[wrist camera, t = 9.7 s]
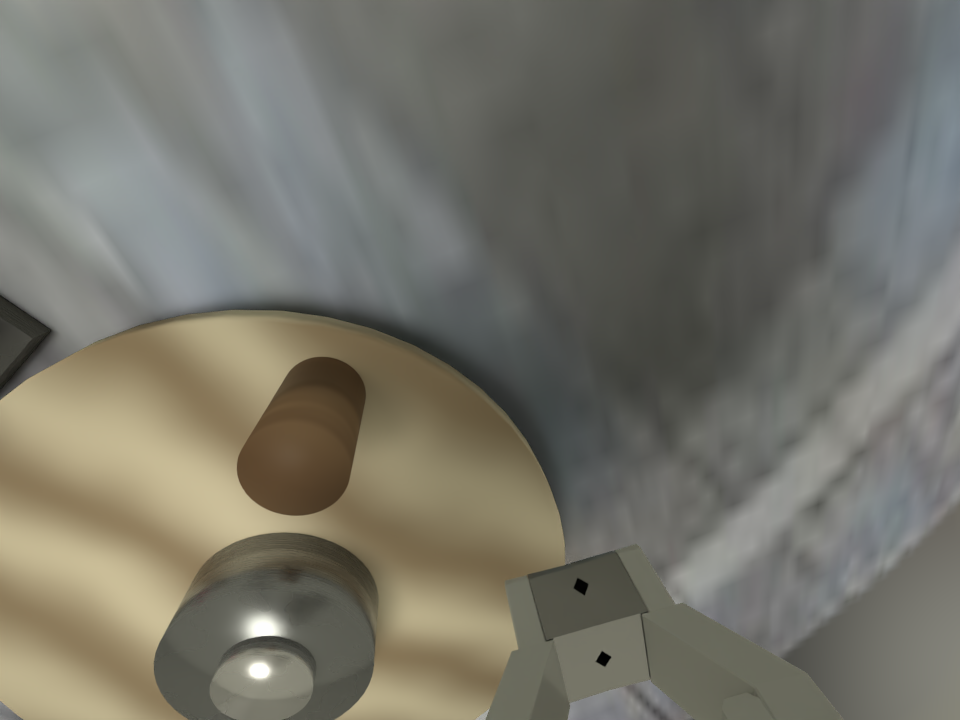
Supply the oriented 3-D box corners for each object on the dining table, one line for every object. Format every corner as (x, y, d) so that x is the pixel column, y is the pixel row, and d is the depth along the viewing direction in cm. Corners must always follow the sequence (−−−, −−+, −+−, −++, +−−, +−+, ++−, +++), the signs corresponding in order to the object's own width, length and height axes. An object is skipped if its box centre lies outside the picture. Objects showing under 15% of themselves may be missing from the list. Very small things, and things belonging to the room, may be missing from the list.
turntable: (124, 156, 16) (-56, 147, 10) (660, 499, 24) (744, 610, 18) (-131, 663, 21) (-344, 857, 15) (374, 798, 30) (364, 958, 24)
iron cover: (247, 502, 19) (211, 576, 16) (413, 579, 22) (413, 658, 18) (154, 631, 21) (102, 724, 17) (318, 688, 23) (302, 780, 20)
